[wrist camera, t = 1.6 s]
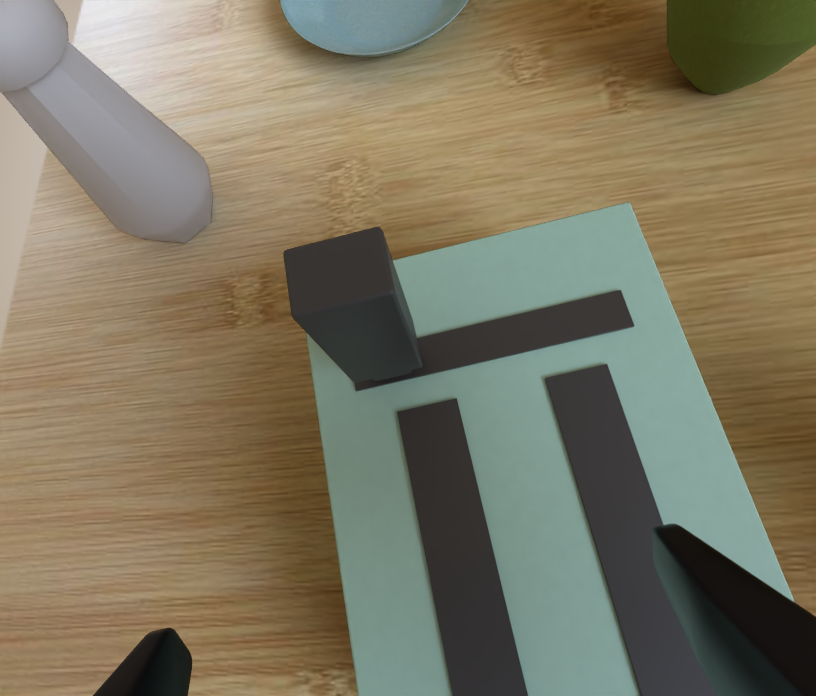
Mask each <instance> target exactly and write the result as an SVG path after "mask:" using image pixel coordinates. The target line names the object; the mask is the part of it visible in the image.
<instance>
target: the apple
mask: <svg viewBox="0 0 816 696" xmlns="http://www.w3.org/2000/svg"><path fill="white" fill-rule="evenodd" d="M667 44H668V48H669V51H670V54H671V58H672V60H673V61H674V63H675V64H676V65H677V66H678V67H679V69H680V70H681V71H682V72H683V73H684V75H685V76H686V77H687V78H688V79H689V81H690V82H691V83H692V84H693V85H694V86H695V87H696V88H698V89H699V90H701V91H702V92H704V93H709V94H715V95H716V94H722V93H728V92H730V91H733V90H736V89H739V88H742V87H744V86H747V85H750V84H753V83H755V82H758V81H760V80H762V79H764V78H766V77H767V76H769V75H771V74H773V73H775V72H777V71H779V70H780V69H781V68H783V67H784V66H786V65H787V64H788V63H790V62H791V61H793V60H794V59H795V58H797V57H798V56H800V55H801V54H803V53H804V52H805V51H807V50H808V49H810V48H811V47H812V46H814V45H815V44H816V0H667Z"/></svg>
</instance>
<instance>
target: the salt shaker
mask: <svg viewBox="0 0 816 696" xmlns="http://www.w3.org/2000/svg"><path fill="white" fill-rule="evenodd" d="M68 41H69V39H68V23H67V21H66V18H65V16H64V14H63V12H62V11H61V9H60V8H59V7H58V5H57V4H56V3H55V2H54V0H0V92H2V94H3V95H4V96H5V97H6V98H7V100H8V101H9V102H10V103H11V104H12V105H13V107H14V108H15V109H16V110H17V111H18V113H19V114H20V115H21V116H22V117H23V118H24V120H25V121H26V122H27V123H28V124H29V126H30V127H31V128H32V129H33V130H34V131H35V132H36V134H37V135H38V136H39V137H40V138H41V140H42V141H43V142H44V143H45V144H46V146H47V147H48V148H49V149H50V150H51V152H52V153H53V154H54V155H55V156H56V157H57V159H58V160H59V161H60V162H61V163H62V165H63V166H64V167H65V168H66V169H67V170H68V172H69V173H70V174H71V175H72V176H73V178H74V179H75V180H76V181H77V182H78V183H79V185H80V186H81V187H82V188H83V189H84V191H85V192H86V193H87V194H88V195H89V196H90V198H91V199H92V200H93V201H94V202H95V204H96V205H97V206H98V207H99V208H100V209H101V211H102V212H103V213H104V214H105V215H106V217H107V218H108V219H109V220H110V221H111V222H112V224H113V225H114V226H115V227H116V228H117V229H119V230H121V231H122V232H124V233H127V234H130V235H133V236H136V237H139V238H142V239H146V240H156V241H167V242H178V243H186V242H187V241H188V240H190V239H191V238H192V237H193V236H195V235H196V234H197V233H198V232H199V231H201V230H202V229H203V228H204V227H206V226H207V225H208V224H209V223H211V212H212V200H213V193H212V187H211V181H210V176H209V170H208V166H207V164H206V162H205V160H204V158H203V157H202V156H201V155H200V154H199V153H198V152H197V151H196V150H195V149H194V148H193V147H192V146H191V145H190V144H189V143H187V142H186V141H185V140H184V139H183V138H181V137H180V136H179V135H178V134H176V133H175V132H174V131H173V130H172V129H170V128H169V127H168V126H167V125H166V124H164V123H163V122H162V121H161V120H159V119H158V118H157V117H156V116H155V115H153V114H152V113H151V112H150V111H149V110H147V109H146V108H145V107H144V106H142V105H141V104H140V103H139V102H138V101H136V100H135V99H134V98H133V97H132V96H131V95H129V94H128V93H127V92H126V91H125V90H124V89H123V88H121V87H120V86H119V85H118V84H117V83H116V82H114V81H113V80H112V79H111V78H110V77H109V76H107V75H106V74H105V73H104V72H103V71H102V70H100V69H99V68H98V67H97V66H96V65H95V64H93V63H92V62H91V61H90V60H89V59H88V58H87V57H85V56H84V55H83V54H82V53H81V52H80V51H78V50H77V49H76V48H75V47H74V46H73V45H71V44H70V43H69V42H68Z"/></svg>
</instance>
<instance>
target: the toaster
mask: <svg viewBox="0 0 816 696" xmlns="http://www.w3.org/2000/svg"><path fill="white" fill-rule="evenodd" d="M393 263H394V266H395V269H396V272H397V275H398V278H399V281H400V284H401V286H402V289H403V292H404V295H405V298H406V301H407V304H408V307H409V310H410V313H411V316H412V319H413V323H414V327H415V332H416V336H417V341H418V345H419V350H420V354H421V359H422V363H423V364H422V367H420V368H417V369H413V370H412V372H411V373H410V374H406V375H402V376H398V377H393V378H389V379H385V380H381V381H374V380H373V379H370V380H366V381H362V382H357V383H354V382H353V381H352V380H351V379H350V378H349V377H348V376H347V375H346V374H345V373H344V372H343V371H342V370H341V369H340V368H339V367H338V365H337V364H336V363H335V362H334V361H333V360H332V359H331V358H330V357H329V356H328V355H327V354H326V353H325V352H324V351H323V350H322V348H321V347H320V346H319V345H318V344H317V343H316V342H315V341H314V340H313V339H312V338H311V337H310V336H309V335H308V334H307V333H306V337H307V344H308V351H309V358H310V365H311V372H312V379H313V386H314V393H315V399H316V406H317V413H318V420H319V427H320V434H321V441H322V448H323V455H324V462H325V469H326V476H327V483H328V490H329V497H330V504H331V511H332V518H333V525H334V532H335V539H336V546H337V553H338V560H339V567H340V574H341V581H342V588H343V595H344V602H345V609H346V616H347V623H348V629H349V636H350V643H351V650H352V657H353V664H354V671H355V678H356V685H357V692H358V696H717V695H716V693H715V691H714V690H713V688H712V686H711V684H710V683H709V681H708V679H707V678H706V676H705V674H704V672H703V670H702V669H701V667H700V665H699V663H698V661H697V660H696V657H695V655H694V653H693V651H692V649H691V647H690V645H689V643H688V640H687V638H686V636H685V634H684V632H683V630H682V627H681V625H680V623H679V621H678V619H677V616H676V614H675V612H674V610H673V608H672V606H671V603H670V601H669V599H668V597H667V595H666V592H665V590H664V588H663V586H662V584H661V582H660V579H659V577H658V575H657V573H656V570H655V567H654V564H653V558H652V530H653V528H654V527H657V526H661V525H666V524H671V523H675V524H678V525H680V526H682V527H683V528H685V529H686V530H688V531H689V532H691V533H692V534H693V535H695V536H696V537H698V538H699V539H701V540H702V541H704V542H705V543H707V544H708V545H710V546H711V547H713V548H714V549H716V550H717V551H719V552H720V553H722V554H723V555H725V556H726V557H728V558H729V559H731V560H732V561H734V562H735V563H737V564H738V565H740V566H741V567H743V568H744V569H745V570H747V571H748V572H750V573H751V574H753V575H754V576H756V577H757V578H759V579H760V580H762V581H763V582H765V583H766V584H768V585H769V586H771V587H772V588H774V589H775V590H777V591H778V592H780V593H781V594H783V595H784V596H786V597H787V598H789V599H790V600H792V601H793V602H794V599H793V597H792V594H791V592H790V589H789V587H788V585H787V582H786V580H785V577H784V575H783V573H782V570H781V568H780V565H779V563H778V560H777V558H776V556H775V553H774V551H773V548H772V546H771V543H770V541H769V539H768V536H767V534H766V531H765V529H764V526H763V524H762V522H761V519H760V517H759V514H758V512H757V510H756V507H755V505H754V502H753V500H752V497H751V495H750V493H749V490H748V488H747V485H746V483H745V480H744V478H743V476H742V473H741V471H740V468H739V466H738V463H737V461H736V459H735V456H734V454H733V451H732V449H731V447H730V444H729V442H728V439H727V437H726V434H725V432H724V430H723V427H722V425H721V422H720V420H719V417H718V415H717V413H716V410H715V408H714V405H713V403H712V400H711V398H710V396H709V393H708V391H707V388H706V386H705V384H704V381H703V379H702V376H701V374H700V371H699V369H698V367H697V364H696V362H695V359H694V357H693V354H692V352H691V350H690V347H689V345H688V342H687V340H686V337H685V335H684V333H683V330H682V328H681V325H680V323H679V321H678V318H677V316H676V313H675V311H674V308H673V306H672V304H671V301H670V299H669V296H668V294H667V291H666V289H665V287H664V284H663V282H662V279H661V277H660V275H659V272H658V270H657V267H656V265H655V262H654V260H653V258H652V255H651V253H650V250H649V248H648V245H647V243H646V241H645V238H644V236H643V233H642V231H641V228H640V226H639V224H638V221H637V219H636V216H635V214H634V212H633V209H632V207H631V204H630V203H629V202H626V203H622V204H618V205H614V206H610V207H606V208H602V209H598V210H594V211H590V212H586V213H582V214H578V215H574V216H570V217H566V218H561V219H557V220H553V221H549V222H545V223H541V224H537V225H533V226H529V227H525V228H521V229H517V230H513V231H509V232H505V233H501V234H497V235H493V236H489V237H485V238H481V239H477V240H473V241H469V242H465V243H460V244H456V245H452V246H448V247H444V248H440V249H436V250H432V251H428V252H424V253H420V254H416V255H412V256H408V257H404V258H400V259H396V260H393Z"/></svg>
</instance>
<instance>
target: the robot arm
mask: <svg viewBox="0 0 816 696" xmlns="http://www.w3.org/2000/svg"><path fill="white" fill-rule="evenodd" d="M652 558H653V564H654V567H655V570H656V573H657V575H658V577H659V579H660V582H661V584H662V586H663V588H664V590H665V592H666V595H667V597H668V599H669V601H670V603H671V606H672V608H673V610H674V612H675V614H676V616H677V619H678V621H679V623H680V625H681V627H682V630H683V632H684V634H685V636H686V638H687V640H688V643H689V645H690V647H691V649H692V651H693V653H694V655H695V657H696V660H697V661H698V663H699V665H700V667H701V669H702V670H703V672H704V674H705V676H706V678H707V679H708V681H709V683H710V684H711V686H712V688H713V690H714V691H715V693H716V695H717V696H816V617H815V616H814V615H812V614H811V613H809V612H808V611H806V610H805V609H803V608H802V607H800V606H799V605H797V604H796V603H795V602H793V601H792V600H790V599H789V598H787V597H786V596H784V595H783V594H781V593H780V592H778V591H777V590H775V589H774V588H772V587H771V586H769V585H768V584H766V583H765V582H763V581H762V580H760V579H759V578H757V577H756V576H754V575H753V574H751V573H750V572H748V571H747V570H745V569H744V568H743V567H741V566H740V565H738V564H737V563H735V562H734V561H732V560H731V559H729V558H728V557H726V556H725V555H723V554H722V553H720V552H719V551H717V550H716V549H714V548H713V547H711V546H710V545H708V544H707V543H705V542H704V541H702V540H701V539H699V538H698V537H696V536H695V535H693V534H692V533H691V532H689V531H688V530H686V529H685V528H683V527H682V526H680V525H678V524H675V523H671V524H666V525H661V526H657V527H654V528H653V530H652ZM191 670H192V657H191V654H190V652H189V650H188V649H187V647H186V646H185V644H184V643H183V641H182V640H181V638H180V637H179V635H178V634H177V633H176V631H175V630H174V629H172V628H165V629H160V630H155V631H152V632H150V633H148V634H147V635H146V636H145V637H144V638H143V639H142V640H141V642H140V643H139V644H138V645H137V646H136V647H135V648H134V649H133V651H132V652H131V653H130V654H129V655H128V656H127V657H126V659H125V660H124V661H123V662H122V663H121V664H120V665H119V667H118V668H117V669H116V670H115V671H114V672H113V673H112V675H111V676H110V677H109V678H108V679H107V680H106V681H105V682H104V684H103V685H102V686H101V687H100V688H99V689H98V690H97V692H96V693H95V694H94V695H93V696H188V690H189V684H190V677H191Z"/></svg>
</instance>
